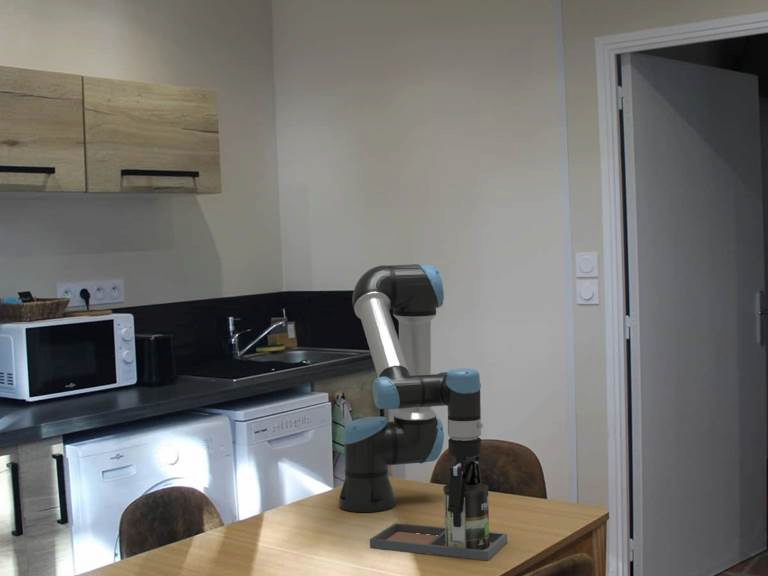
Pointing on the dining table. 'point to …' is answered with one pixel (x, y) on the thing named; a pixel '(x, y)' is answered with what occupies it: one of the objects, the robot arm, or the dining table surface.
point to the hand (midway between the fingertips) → (466, 533)
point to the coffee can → (470, 518)
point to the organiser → (431, 542)
